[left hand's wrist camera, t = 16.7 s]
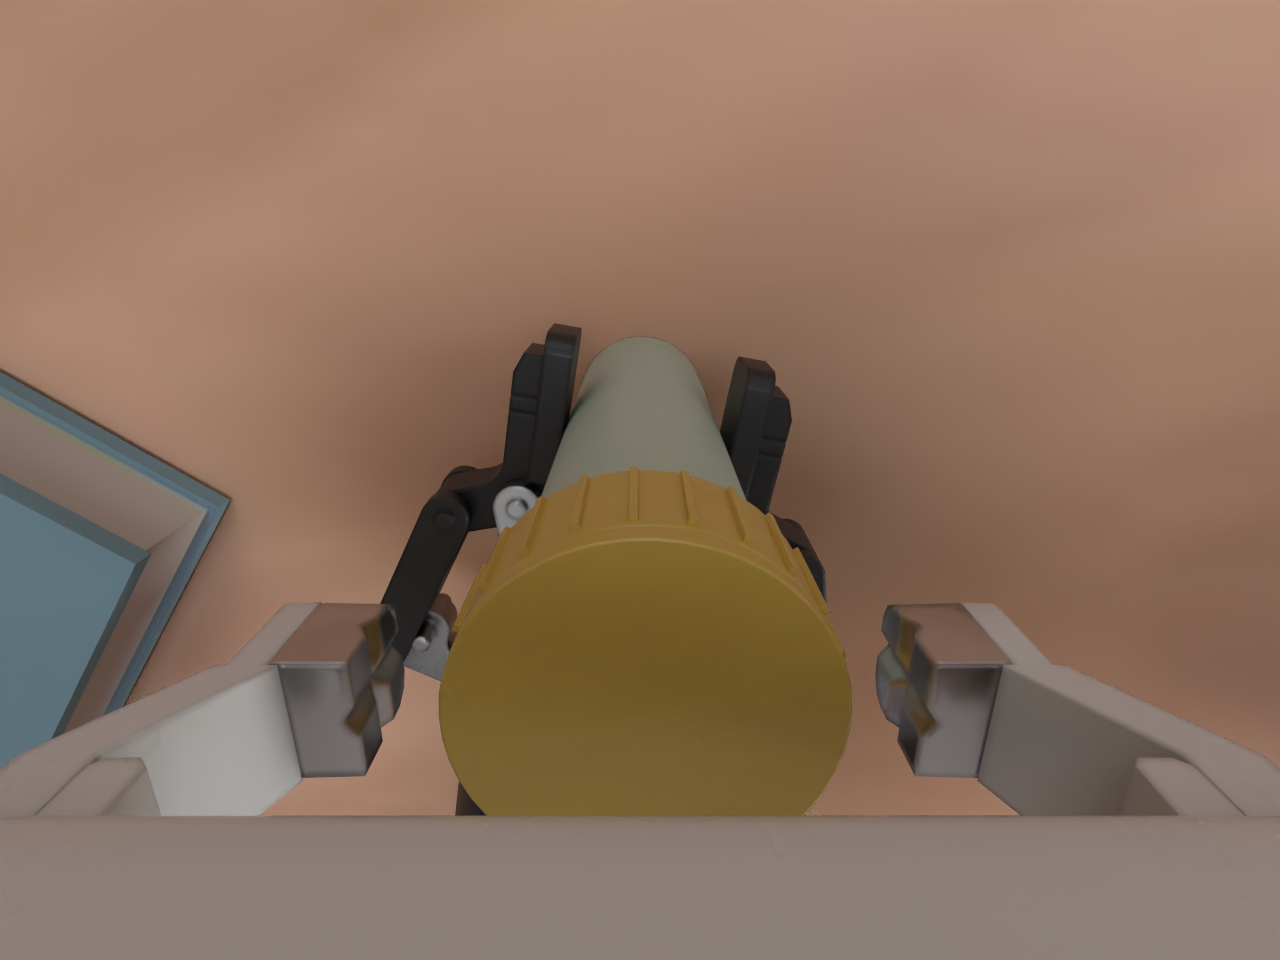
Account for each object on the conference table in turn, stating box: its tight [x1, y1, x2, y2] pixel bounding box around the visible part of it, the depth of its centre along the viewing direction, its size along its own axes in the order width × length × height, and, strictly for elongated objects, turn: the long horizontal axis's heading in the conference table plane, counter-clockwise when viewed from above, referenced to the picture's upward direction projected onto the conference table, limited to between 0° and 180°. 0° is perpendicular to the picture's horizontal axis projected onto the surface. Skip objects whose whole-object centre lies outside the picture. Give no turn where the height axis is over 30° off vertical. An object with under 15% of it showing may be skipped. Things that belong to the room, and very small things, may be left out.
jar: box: [542, 337, 746, 500], centre depth 16 cm, size 4×4×16 cm
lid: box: [439, 467, 852, 816], centre depth 9 cm, size 5×5×2 cm
